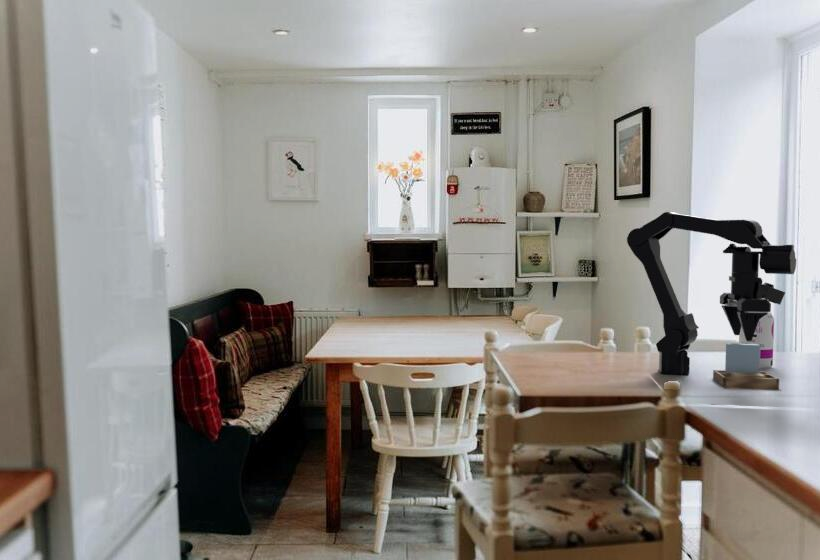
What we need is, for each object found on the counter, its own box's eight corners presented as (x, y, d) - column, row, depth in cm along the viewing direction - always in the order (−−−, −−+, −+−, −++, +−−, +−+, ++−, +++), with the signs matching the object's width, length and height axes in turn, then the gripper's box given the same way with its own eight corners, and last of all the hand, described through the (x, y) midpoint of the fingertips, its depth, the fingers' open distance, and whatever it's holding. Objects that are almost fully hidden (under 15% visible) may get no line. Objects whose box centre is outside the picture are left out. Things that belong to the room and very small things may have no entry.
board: (727, 381, 162) (728, 344, 162) (725, 380, 164) (726, 343, 163) (758, 382, 161) (759, 345, 160) (756, 381, 163) (757, 343, 162)
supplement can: (768, 365, 186) (769, 311, 185) (775, 371, 178) (777, 314, 177) (735, 363, 188) (737, 310, 187) (741, 369, 180) (743, 313, 179)
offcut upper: (734, 380, 157) (734, 375, 157) (730, 377, 161) (730, 372, 161) (764, 381, 156) (764, 376, 156) (759, 378, 160) (759, 373, 160)
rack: (724, 390, 155) (725, 378, 155) (712, 380, 166) (712, 369, 166) (781, 392, 153) (781, 380, 153) (764, 382, 164) (765, 370, 164)
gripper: (796, 275, 150) (794, 345, 151) (767, 271, 169) (765, 333, 170) (743, 274, 152) (741, 343, 153) (720, 270, 171) (718, 332, 172)
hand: (742, 337), depth 162 cm, fingers open, 9 cm apart
